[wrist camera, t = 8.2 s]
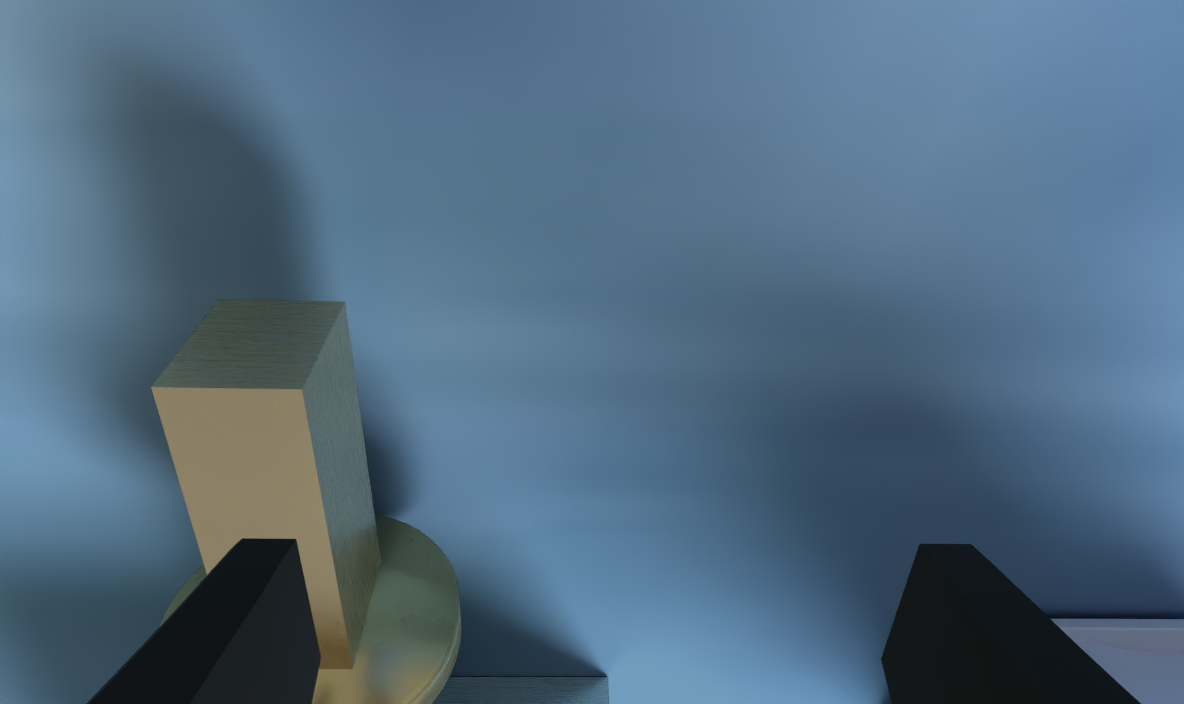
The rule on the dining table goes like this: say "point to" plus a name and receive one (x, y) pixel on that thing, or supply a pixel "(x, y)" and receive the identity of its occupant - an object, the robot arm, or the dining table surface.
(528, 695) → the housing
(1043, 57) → the dining table surface
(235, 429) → the gold trophy
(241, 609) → the robot arm
